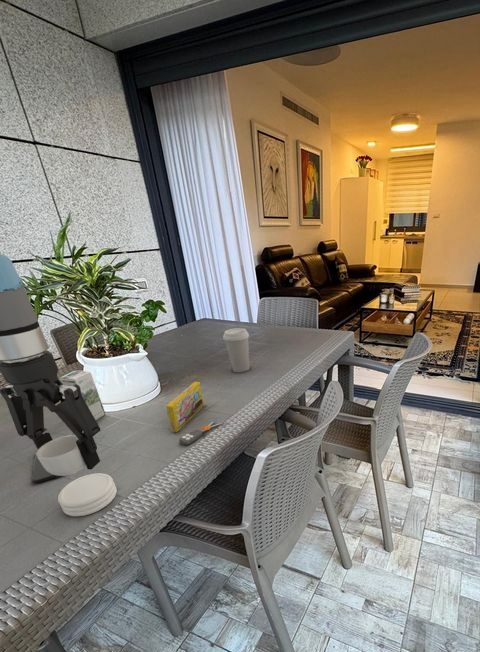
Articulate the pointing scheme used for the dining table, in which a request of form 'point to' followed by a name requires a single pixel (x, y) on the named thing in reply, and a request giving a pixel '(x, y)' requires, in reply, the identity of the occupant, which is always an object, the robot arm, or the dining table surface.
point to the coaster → (87, 494)
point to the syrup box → (86, 390)
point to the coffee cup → (237, 348)
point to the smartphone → (40, 472)
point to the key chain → (195, 434)
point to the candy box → (185, 406)
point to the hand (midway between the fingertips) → (74, 464)
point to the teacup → (61, 456)
